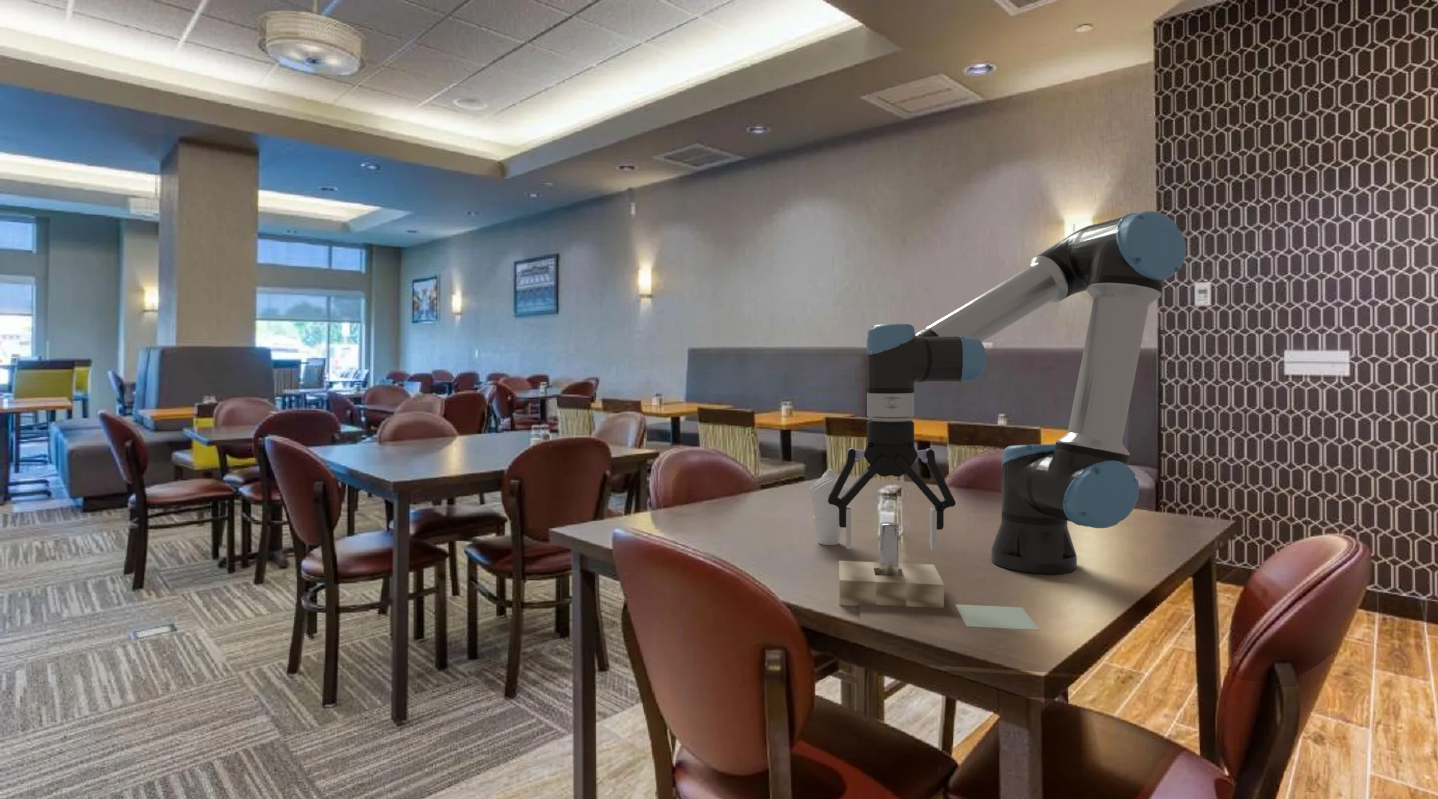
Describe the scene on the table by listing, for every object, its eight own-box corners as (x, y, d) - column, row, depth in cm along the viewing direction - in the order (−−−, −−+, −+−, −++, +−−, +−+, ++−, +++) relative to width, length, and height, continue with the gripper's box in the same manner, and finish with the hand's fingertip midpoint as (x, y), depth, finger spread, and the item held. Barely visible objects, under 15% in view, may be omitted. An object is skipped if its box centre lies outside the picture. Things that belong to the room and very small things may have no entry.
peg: (897, 593, 123) (897, 522, 123) (898, 599, 120) (899, 526, 120) (878, 593, 124) (879, 521, 123) (880, 598, 121) (880, 525, 120)
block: (933, 587, 127) (933, 564, 126) (943, 610, 115) (944, 584, 115) (838, 583, 129) (839, 560, 129) (839, 605, 117) (839, 580, 117)
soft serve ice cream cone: (838, 549, 153) (838, 472, 153) (802, 544, 158) (802, 469, 157) (854, 541, 160) (854, 468, 160) (819, 536, 165) (819, 465, 164)
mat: (1021, 610, 115) (1021, 607, 115) (1039, 632, 105) (1039, 629, 105) (955, 606, 116) (955, 604, 116) (966, 628, 107) (966, 626, 107)
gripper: (812, 420, 119) (813, 551, 120) (974, 420, 115) (973, 555, 116) (814, 417, 126) (814, 540, 127) (965, 417, 123) (965, 544, 123)
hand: (890, 548), depth 122 cm, fingers open, 13 cm apart
